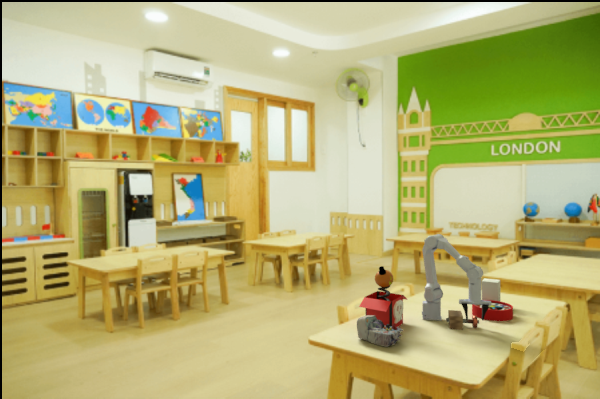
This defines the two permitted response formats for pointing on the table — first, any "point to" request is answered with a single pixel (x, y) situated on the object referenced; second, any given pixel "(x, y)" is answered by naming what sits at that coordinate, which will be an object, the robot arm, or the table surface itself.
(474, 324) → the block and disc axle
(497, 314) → the toy clock
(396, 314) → the jack-in-the-box
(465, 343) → the table surface
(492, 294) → the supplement box
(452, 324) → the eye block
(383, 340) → the grey lumpy piece
